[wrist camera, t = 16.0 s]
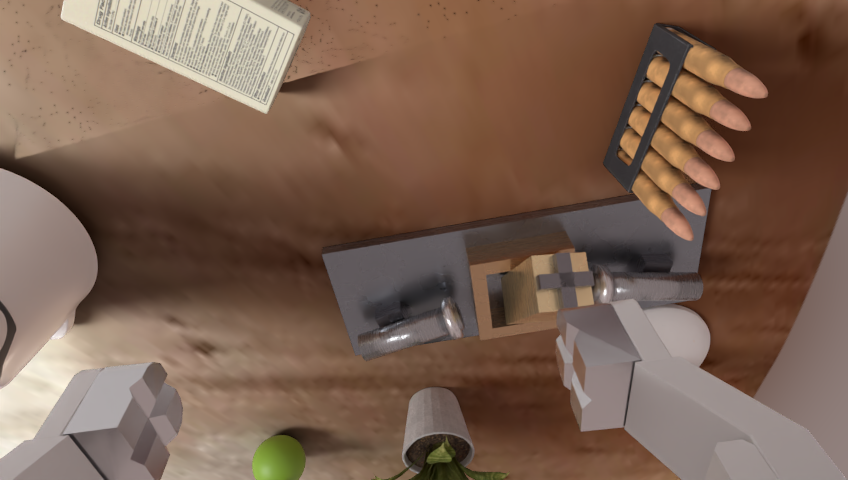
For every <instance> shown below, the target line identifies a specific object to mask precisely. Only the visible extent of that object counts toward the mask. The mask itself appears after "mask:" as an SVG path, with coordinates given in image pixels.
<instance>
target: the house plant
mask: <svg viewBox="0 0 848 480" xmlns="http://www.w3.org/2000/svg"><path fill="white" fill-rule="evenodd" d="M474 450H475V449H474V447H473V444H472V441H471V438H470V435H469V432H468V429H467V426H466V423H465V421H464V418H463V415H462V412H461V409H460V406H459V403H458V400H457V398H456V397H455V395H454V394H453V393H452V392H451V391H450V390H448V389H445V388H441V387H430V388H425V389H422V390H420V391H418V392H417V393H415V394H414V395H413V396H412V398H411V400H410V402H409V409H408V416H407V423H406V430H405V437H404V444H403V451H402V460H403V462H404V464H405V466H406V467H407V468H406V469H405V470H403V471H402V472H401V473H399V474H398V475H396V476H394V477H391V478H389V479H385V480H395V479H397V478H398V477H400V476H401V475H402V474H403V473H405V472H406V471H407V470H408V469H410V470H411V471H413V472H415V473H417V475H415V476H414V477H413V478H411V479H409V480H428V479H429V480H469V479H468V478H467V477H466V475H465V473H466V474H467V475H468V476H469V477H471V478H473V479H475V480H503V479H504V478H505V477H506V476H507V475H508V473H509V472H508V473H507V474H506V473H501V472H477V471H472V470H470V469H468V468H466V466H467V465H468V464H469V463H470V462H471V461H472V459H473V457H474ZM464 472H465V473H464ZM375 477H376V476H375ZM372 480H384V479H379V478H378V477H376V479H372Z"/></svg>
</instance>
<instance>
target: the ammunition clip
mask: <svg viewBox="0 0 848 480" xmlns="http://www.w3.org/2000/svg"><path fill="white" fill-rule="evenodd" d="M682 67H683V68H682ZM684 68H685V69H687V70H688V71H687V70H685V69H684ZM689 71H690V72H692V73H693V74H692V73H690V72H689ZM703 79H704V80H705V81H707V82H709V83H711V84H714V85H719V86H722V87H724V88H726V89H729V90H731V91H733V92H735V93H738V94H740V95H743V96H746V97H750V98H765V97H767V96H768V91H767V89H766V87H765V86H764V84H763V83H762V82H761V81H760V80H759V79H758V78H757V77H756V76H754V75H753V74H752V73H750V72H748V71H746V70H745V69H744V68H742V67H741V66H739V65H737V64H736V63H735V62H734V61H733V60H732V59H731V58H730V57H728V56H726V55H724V54H722V53H720V52H718V51H716V49H715V48H713V47H712V46H710V45H709V44H707V43H705V42H704V41H702V40H700V39H699V38H697V37H695V36H694V35H692V34H690V33H689V32H687V31H686V30H684V29H682V28H681V27H678V26H672V25H665V24H659V23H656V24H654V27H653V29H652V32H651V35H650V37H649V40H648V43H647V46H646V48H645V51H644V54H643V56H642V59H641V62H640V64H639V67H638V70H637V73H636V75H635V78H634V81H633V83H632V86H631V89H630V91H629V94H628V97H627V100H626V102H625V105H624V108H623V110H622V113H621V116H620V119H619V121H618V124H617V127H616V129H615V132H614V135H613V137H612V140H611V143H610V146H609V148H608V151H607V154H606V156H605V159H604V162H603V164H604V166H605V167H606V168H607V169H608V170H609V172H610V173H611V174H612V175H613V176H614V177H615V178H616V179H617V180H618V181H619V182H620V184H621V185H622V186H623V187H624V188H625V189H626V190H627V191H628V192H629V193H633V192H634V193H635V194H636V196H637V197H638V198H639V199H640V200H641V202H642V203H643V204H644V205H645V206H646V208H647V209H648V210H649V211H650V212H652V213H653V214H654V215H656V216H657V217H658V218H659V219H660V220H661V221H662V222H664V224H665V225H666V226H667V227H668V228H669V229H670V230H672V231H673V232H674V233H675V234H676V235H678V236H680V237H681V238H683V239H685V240H689V241H692V240H693V239H694V236H693V231H692V229H691V226H690V224H689V222H688V221H687V219H686V218H685V216H684V215H683V214H682V213H681V212H680V210H679V208H678V207H677V206H676V205H675V203H674V202H673V199H672V197H673V198H674V199H675V200H676V201H677V202H678V203H679V204H681V205H682V206H683V207H684V208H686V209H687V210H689V211H690V212H692V213H694V214H697V215H700V216H705V215H706V207H705V205H704V203H703V201H702V199H701V197H700V196H699V194H698V193H697V192H696V191H695V190H694V189H693V188H692V187H691V185H690V184H689V182H688V181H687V180H686V179H685V177H684V175H683V173H682V172H681V171H680V170H682V171H683V172H684V173H685V174H687V175H688V176H689V177H691V178H692V179H693V180H694V181H696V182H697V183H699V184H701V185H703V186H705V187H707V188H710V189H714V190H718V189H720V182H719V179H718V177H717V175H716V174H715V172H714V171H713V170H712V168H711V167H710V166H709V165H708V164H707V163H706V162H705V161H704V160H703V159H702V158H701V157H700V156H699V155H698V154H697V152H696V151H695V149H694V147H693V146H692V145H691V144H690V143H692V144H694V145H695V146H697V147H698V148H700V149H702V150H703V151H704V152H705V153H707V154H709V155H711V156H712V157H714V158H717V159H720V160H723V161H728V162H732V161H734V160H735V156H734V153H733V150H732V149H731V147H730V145H729V144H728V143H727V142H726V141H725V140H724V139H723V138H722V137H721V136H720V135H719V134H718V133H716V131H715V130H714V129H712V128H711V127H710V126H709V125H708V123H707V122H706V120H705V119H704V118H703V117H701V116H700V115H699V114H697V113H700V114H703V115H706V116H707V117H709V118H711V119H713V120H715V121H717V122H718V123H720V124H722V125H724V126H726V127H728V128H731V129H735V130H739V131H748V130H750V129H751V125H750V122H749V120H748V118H747V117H746V116H745V114H744V113H743V112H742V111H741V110H740V109H739V108H738V107H737V106H735V105H734V104H732V103H731V102H730V101H729V100H727V99H726V98H725V97H723V96H722V95H721V93H720V92H719V91H718V90H717V89H716V88H715V87H713V86H711V85H710V84H708V83H706V82H705V81H703ZM693 110H694V111H693ZM696 112H697V113H696ZM688 142H690V143H688ZM678 168H679V169H680V170H679V169H678ZM670 195H671V196H672V197H671V196H670Z"/></svg>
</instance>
